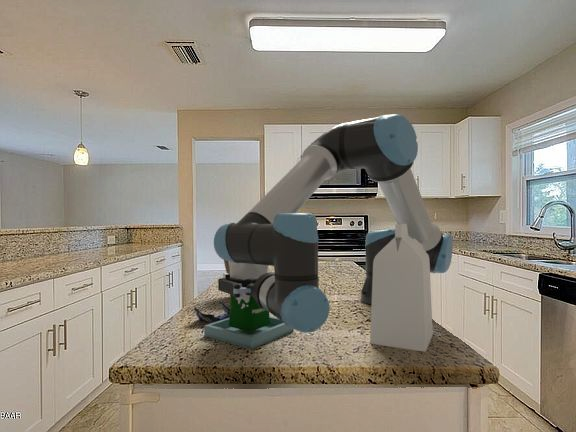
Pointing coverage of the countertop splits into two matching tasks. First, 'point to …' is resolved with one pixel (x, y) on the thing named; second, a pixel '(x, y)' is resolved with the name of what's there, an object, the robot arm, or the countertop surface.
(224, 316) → the snack package
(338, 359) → the countertop surface
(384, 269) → the milk
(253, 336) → the tray
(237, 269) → the milk carton
